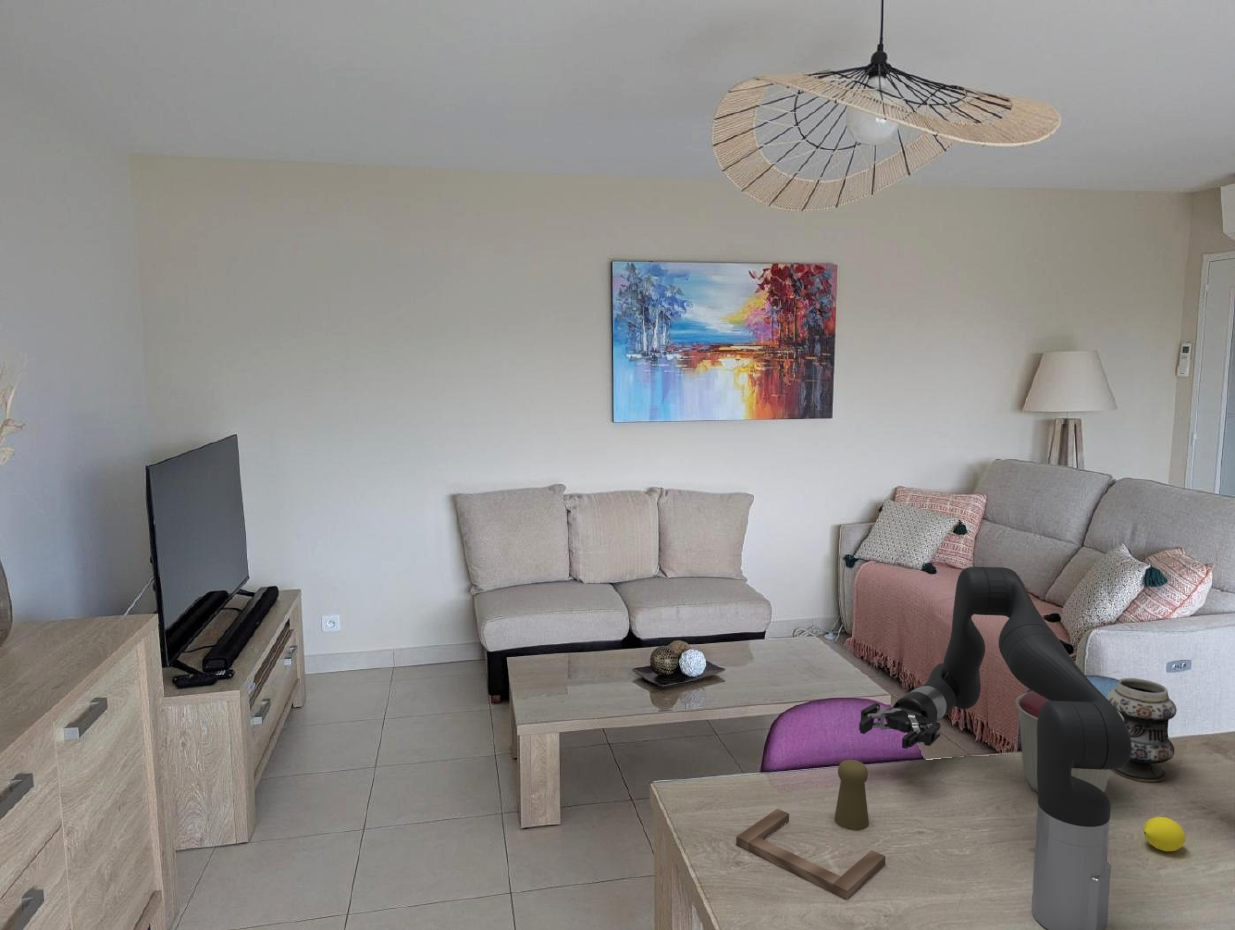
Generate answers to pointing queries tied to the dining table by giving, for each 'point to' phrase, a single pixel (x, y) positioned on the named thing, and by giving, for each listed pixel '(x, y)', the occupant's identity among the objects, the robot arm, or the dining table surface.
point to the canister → (1028, 726)
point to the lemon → (1164, 834)
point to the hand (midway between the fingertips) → (882, 736)
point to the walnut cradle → (803, 868)
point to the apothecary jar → (1144, 726)
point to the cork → (852, 796)
